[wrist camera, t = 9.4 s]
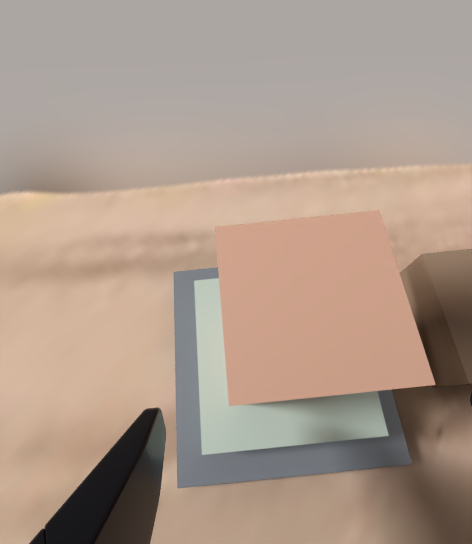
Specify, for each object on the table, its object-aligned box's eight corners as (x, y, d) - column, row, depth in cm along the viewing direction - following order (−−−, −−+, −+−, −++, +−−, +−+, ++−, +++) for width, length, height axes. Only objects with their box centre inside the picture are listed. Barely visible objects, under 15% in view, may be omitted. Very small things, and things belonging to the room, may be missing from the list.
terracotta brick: (336, 394, 14) (435, 384, 7) (239, 403, 14) (228, 406, 7) (317, 300, 16) (378, 210, 8) (230, 309, 16) (214, 226, 8)
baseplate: (402, 460, 15) (412, 464, 15) (181, 483, 15) (177, 488, 15) (349, 260, 20) (354, 253, 19) (177, 278, 20) (173, 272, 19)
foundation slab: (371, 431, 15) (388, 435, 13) (207, 448, 15) (201, 454, 13) (335, 279, 18) (345, 265, 16) (199, 292, 18) (194, 280, 16)
